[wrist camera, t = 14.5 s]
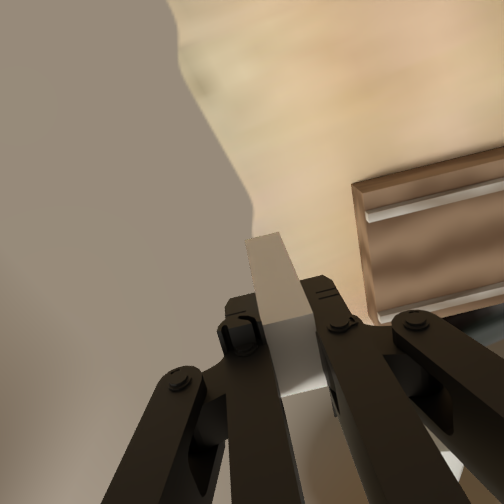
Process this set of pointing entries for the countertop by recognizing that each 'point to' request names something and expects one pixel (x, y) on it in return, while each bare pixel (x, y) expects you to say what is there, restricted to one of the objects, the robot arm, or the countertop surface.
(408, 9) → the countertop surface
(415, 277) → the slot board
